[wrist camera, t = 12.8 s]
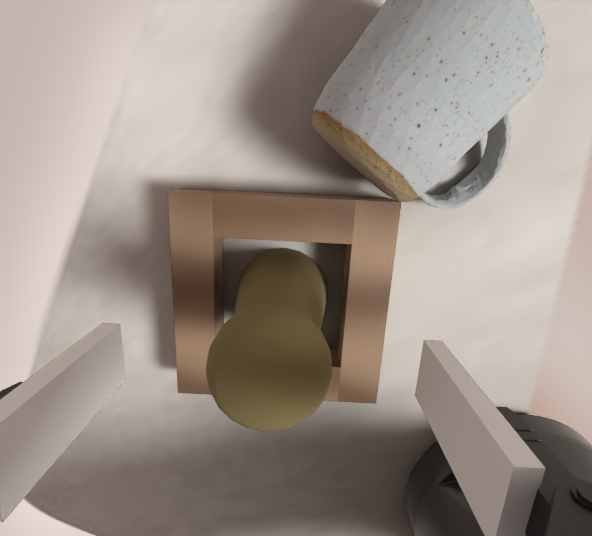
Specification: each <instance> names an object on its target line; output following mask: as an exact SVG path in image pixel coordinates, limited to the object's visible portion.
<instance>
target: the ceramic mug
mask: <svg viewBox="0 0 592 536" xmlns="http://www.w3.org/2000/svg"><path fill="white" fill-rule="evenodd" d="M547 60H548V44H547V40H546V35H545V32H544V29H543V26H542V23H541V21H540V18H539V16H538V14H537V13H536V11H535V10H534V8H533V6H532V5H531V3H530V1H529V0H386V2H385V3H384V4H383V6H382V7H381V8H380V10H379V11H378V13H377V14H376V15H375V17H374V18H373V20H372V21H371V22H370V24H369V25H368V26H367V28H366V29H365V31H364V32H363V34H362V35H361V37H360V38H359V40H358V41H357V43H356V44H355V45H354V47H353V48H352V50H351V51H350V52H349V54H348V55H347V56H346V58H345V59H344V60H343V62H342V63H341V64H340V66H339V67H338V68H337V70H336V71H335V72H334V74H333V75H332V77H331V78H330V80H329V81H328V82H327V84H326V85H325V87H324V89H323V91H322V93H321V95H320V97H319V99H318V100H317V102H316V104H315V106H314V108H313V111H312V124H313V127H314V129H315V131H316V132H317V133H318V134H319V135H320V136H321V138H323V139H324V140H325V141H326V142H327V143H328V144H329V145H330V146H331V147H332V148H333V149H334V150H335V151H336V152H337V153H338V154H339V155H340V156H341V157H342V158H344V159H345V160H346V161H347V162H348V163H349V164H350V165H352V166H353V167H354V168H355V169H356V170H357V171H359V172H360V173H361V174H362V175H363V176H364V177H366V178H367V179H368V180H369V181H370V182H372V183H373V184H374V185H375V186H376V187H378V188H379V189H380V190H382V191H383V192H384V193H386V194H387V195H388V196H390V197H391V198H392V199H394V200H396V201H399V202H408V201H412V200H414V199H416V198H418V199H419V200H421V201H423V202H424V203H426V204H428V205H430V206H433V207H436V208H439V209H451V208H455V207H459V206H462V205H464V204H466V203H468V202H469V201H471V200H472V199H474V198H475V197H477V196H478V195H479V194H480V193H482V192H483V191H484V190H485V189H486V188H487V187H488V186H489V185H490V184H491V183H492V182H493V180H494V179H495V178H496V177H497V175H498V174H499V172H500V170H501V169H502V167H503V165H504V163H505V161H506V158H507V154H508V151H509V145H510V138H511V134H510V122H509V117H508V114H507V112H508V111H509V110H510V109H511V108H512V107H514V106H515V105H516V104H517V103H518V102H519V101H520V100H521V99H522V98H523V97H524V96H525V95H526V94H527V93H528V92H529V91H530V90H531V89H532V88H533V87H534V86H535V84H536V83H537V82H538V80H539V79H540V78H541V76H542V74H543V72H544V71H545V69H546V67H547ZM487 132H488V139H487V145H486V148H485V152H484V155H483V157H482V159H481V160H480V162H479V164H478V166H476V168H475V169H474V170H473V171H472V172H470V173H469V174H468V175H467V176H466V177H465V178H464V179H463V180H461V181H460V182H459V183H458V184H457V185H455V186H453V187H451V188H450V190H449V191H448V192H447V193H445V194H442V195H427V194H425V192H426V191H427V190H428V189H430V188H431V187H433V186H434V185H435V184H437V183H438V182H439V181H440V180H441V179H442V178H443V177H444V176H445V175H446V174H447V173H448V172H449V171H450V170H451V169H452V168H453V166H454V165H455V164H456V163H457V162H458V161H459V160H460V159H461V157H462V156H463V155H464V154H465V153H466V152H467V151H468V150H469V149H470V148H471V147H472V146H473V145H475V144H476V143H477V142H478V141H479V140H480V139H481V138H482V137H483V136H484V135H485V134H486V133H487Z"/></svg>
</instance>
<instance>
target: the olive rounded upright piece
mask: <svg viewBox="0 0 592 536" xmlns="http://www.w3.org/2000/svg"><path fill="white" fill-rule="evenodd" d="M327 296H328V295H327V282H326V279H325V277H324V274H323V272H322V270H321V268H320V267H319V266H318V265H317V264H316V263H315V261H314V260H313V259H312V258H310V257H308V256H307V255H305V254H303V253H302V252H300V251H295V250H291V249H287V248H283V249H271V250H269V251H266V252H264V253H261V254H259V255H258V256H256V257H255V258H254V259H253V260H252V261H250V262H249V263H248V264H247V266H246V268H245V269H244V271H243V273H242V275H241V278H240V283H239V288H238V294H237V300H236V306H235V312H234V316H233V317H232V318H231V319H229V320H228V321H227V322H226V323H224V324H223V325H222V327H221V329H220V330H219V332H218V333H217V335H216V337H215V338H214V340H213V342H212V343H211V345H210V347H209V353H208V358H207V363H206V376H207V382H208V388H209V390H210V392H211V394H212V396H213V398H214V399H215V401H216V403H217V405H218V406H219V408H220V409H221V410H222V411H223V412H224V413H225V414H226V415H227V416H228V417H229V418H230V419H231V420H233V421H235V422H237V423H238V424H240V425H242V426H244V427H246V428H250V429H254V430H259V431H263V432H264V431H281V430H284V429H287V428H290V427H293V426H296V425H298V424H299V423H301V422H302V421H304V420H305V419H306V418H308V417H309V416H311V415H312V414H313V413H314V412H315V411H316V410H317V408H318V407H319V406H320V404H321V403H322V402H323V400H324V399H325V397H326V394H327V390H328V387H329V384H330V381H331V377H332V360H331V352H330V349H329V346H328V344H327V341H326V339H325V337H324V334H323V333H322V332H321V327H322V322H323V317H324V312H325V306H326V301H327Z"/></svg>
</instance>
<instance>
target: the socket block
mask: <svg viewBox="0 0 592 536" xmlns="http://www.w3.org/2000/svg"><path fill="white" fill-rule="evenodd" d="M400 208H401V202H399V201H396V200H393V199H385V198H364V197H344V196H323V195H302V194H282V193H261V192H241V191H220V190H199V189H177V190H170V191H168V210H169V229H170V248H171V267H172V286H173V305H174V324H175V343H176V362H177V381H178V393H192V394H210V395H212V394H211V392H210V390H209V388H208V382H207V376H206V363H207V358H208V353H209V347H210V345H211V343H212V342H213V340H214V338H215V337H216V335H217V333H218V332H219V330H220V329H221V327H222V325H223V324H224V289H223V238H236V239H256V240H277V241H297V242H317V243H337V244H346V252H345V264H344V275H343V287H342V298H341V310H340V322H339V333H338V345H337V348H329V349H330V352H331V360H332V377H331V381H330V384H329V387H328V390H327V394H326V397H325V399H324V400H323V401H339V402H358V403H376V399H377V391H378V383H379V375H380V367H381V359H382V351H383V343H384V335H385V327H386V319H387V311H388V304H389V296H390V288H391V280H392V272H393V264H394V256H395V248H396V240H397V232H398V224H399V216H400Z"/></svg>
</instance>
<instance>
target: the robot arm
mask: <svg viewBox="0 0 592 536" xmlns="http://www.w3.org/2000/svg"><path fill="white" fill-rule="evenodd" d="M125 380H126V379H125V368H124V358H123V348H122V338H121V327H120V324H113V323H102V324H101V325H99V326H98V327H97V328H95V329H94V330H93V331H91V332H90V333H88V334H87V335H86V336H84V337H83V338H82V339H80V340H79V341H78V342H76V343H75V344H74V345H72V346H71V347H70V348H68V349H67V350H66V351H64V352H63V353H62V354H60V355H59V356H58V357H56V358H55V359H54V360H52V361H51V362H50V363H48V364H47V365H46V366H44V367H43V368H42V369H40V370H39V371H38V372H36V373H35V374H34V375H32V376H31V377H30V378H28V379H27V380H26V381H24V382H19V383H17V384H15V385H13V386H11V387H8V388H6V389H4V390H2V391H0V521H1V522H3V521H4V520H5V519H6V518H7V517H8V516H9V514H10V513H11V512H12V511H13V510H14V509H15V507H16V506H17V505H18V504H19V503H20V502H21V501H22V499H23V498H24V497H25V496H26V495H27V494H28V492H29V491H30V490H31V489H32V488H33V487H34V485H35V484H36V483H37V482H38V481H39V480H40V479H41V477H42V476H43V475H44V474H45V473H46V472H47V470H48V469H49V468H50V467H51V466H52V465H53V463H54V462H55V461H56V460H57V459H58V458H59V456H60V455H61V454H62V453H63V452H64V451H65V449H66V448H67V447H68V446H69V445H70V444H71V443H72V441H73V440H74V439H75V438H76V437H77V436H78V434H79V433H80V432H81V431H82V430H83V429H84V427H85V426H86V425H87V424H88V423H89V422H90V420H91V419H92V418H93V417H94V416H95V415H96V413H97V412H98V411H99V410H100V409H101V408H102V406H103V405H104V404H105V403H106V402H107V401H108V400H109V398H110V397H111V396H112V395H113V394H114V393H115V391H116V390H117V389H118V388H119V387H120V386H121V384H122V383H123V382H124V381H125ZM415 396H416V398H417V400H418V402H419V404H420V406H421V408H422V410H423V412H424V414H425V416H426V418H427V420H428V422H429V424H430V426H431V428H432V430H433V432H434V434H435V437H436V439H437V441H438V442H437V443H436V444H435V445H434V446H432V447H431V448H430V449H429V450H428V451H427V453H426V454H425V455H424V456H423V457H422V459H421V460H420V461H419V463H418V464H417V466H416V467H415V469H414V471H413V473H412V476H411V478H410V481H409V484H408V489H407V495H406V504H407V512H408V516H409V519H410V522H411V526H412V529H413V532H414V535H415V536H592V445H591V444H590V443H589V442H588V441H587V440H586V439H585V438H584V437H583V436H582V435H580V434H579V433H578V432H576V431H575V430H573V429H572V428H570V427H568V426H566V425H564V424H562V423H560V422H557V421H555V420H552V419H548V418H544V417H540V416H533V415H519V414H515V413H514V412H513V411H511V410H510V409H508V408H507V407H495V405H494V404H493V403H492V402H491V401H490V399H489V398H488V397H487V396H486V394H485V393H484V392H483V391H482V389H481V388H480V387H479V386H478V385H477V383H476V382H475V381H474V380H473V378H472V377H471V376H470V375H469V373H468V372H467V371H466V370H465V369H464V367H463V366H462V365H461V364H460V362H459V361H458V360H457V359H456V358H455V356H454V355H453V354H452V353H451V351H450V350H449V349H448V348H447V346H446V345H445V344H444V343H443V342H442V341H436V340H424V343H423V349H422V355H421V362H420V368H419V374H418V380H417V387H416V393H415Z"/></svg>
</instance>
